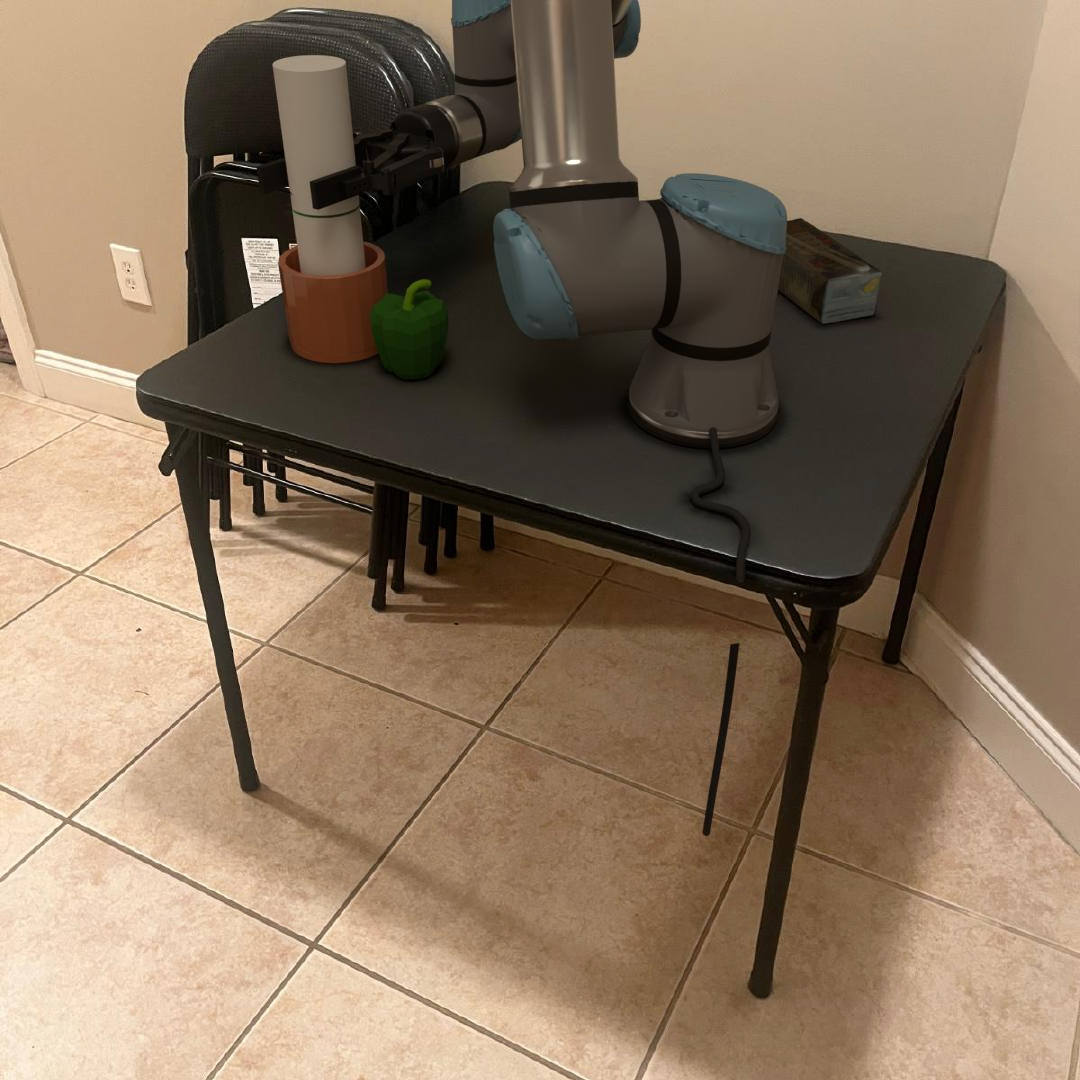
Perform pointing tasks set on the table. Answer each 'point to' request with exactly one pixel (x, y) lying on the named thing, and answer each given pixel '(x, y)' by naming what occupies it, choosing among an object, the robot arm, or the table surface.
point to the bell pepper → (410, 331)
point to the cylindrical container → (319, 160)
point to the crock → (332, 308)
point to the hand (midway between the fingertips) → (287, 188)
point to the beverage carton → (826, 276)
